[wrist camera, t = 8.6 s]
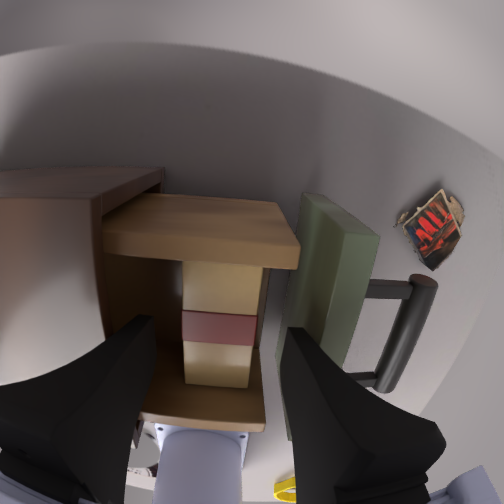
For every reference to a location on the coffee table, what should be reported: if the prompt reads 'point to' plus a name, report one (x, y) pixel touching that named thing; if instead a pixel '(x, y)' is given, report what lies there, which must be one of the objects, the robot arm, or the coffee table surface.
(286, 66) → the coffee table surface
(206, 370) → the tan red striped block
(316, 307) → the pullout
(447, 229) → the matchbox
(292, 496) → the yellow rubber band ring
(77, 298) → the cabinet
